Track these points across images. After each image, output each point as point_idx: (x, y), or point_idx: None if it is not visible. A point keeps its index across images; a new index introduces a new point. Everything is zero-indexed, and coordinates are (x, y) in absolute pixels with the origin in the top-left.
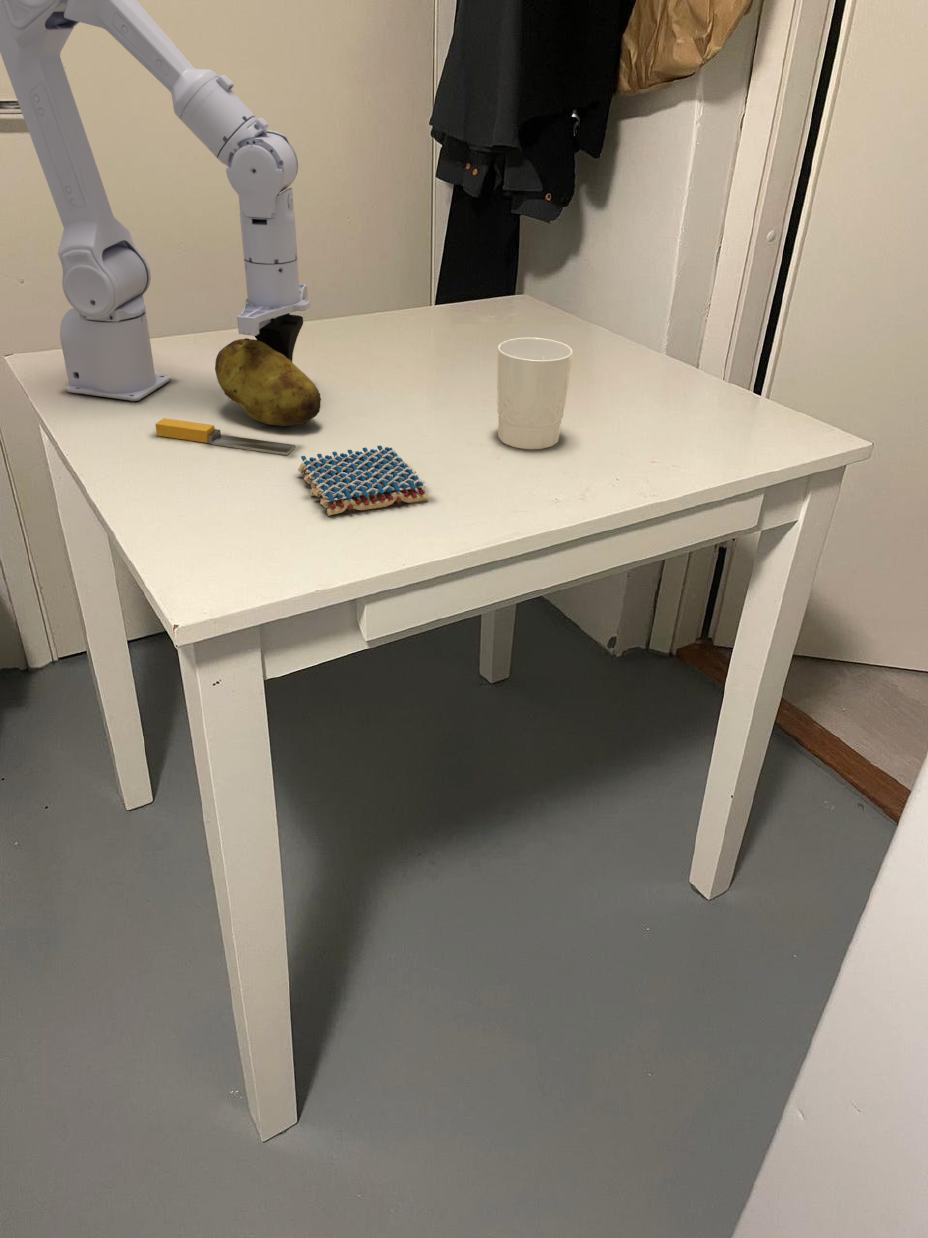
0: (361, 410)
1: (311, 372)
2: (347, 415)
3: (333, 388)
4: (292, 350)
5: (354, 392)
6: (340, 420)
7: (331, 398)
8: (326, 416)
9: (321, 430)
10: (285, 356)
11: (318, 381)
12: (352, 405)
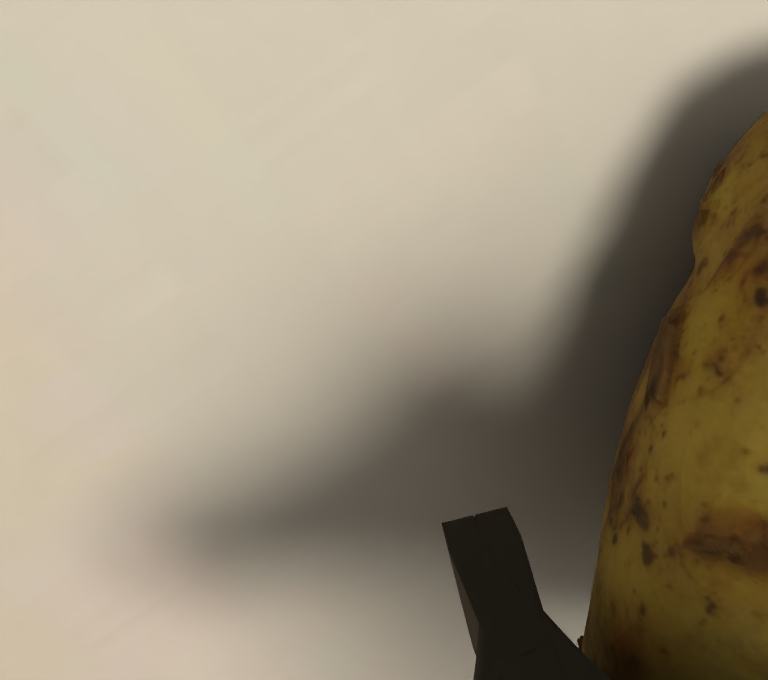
0: (325, 9)
1: (20, 597)
2: (457, 43)
3: (123, 386)
4: (505, 666)
5: (82, 250)
6: (557, 31)
7: (265, 302)
8: (535, 153)
9: (754, 39)
10: (755, 601)
11: (97, 503)
12: (284, 123)
